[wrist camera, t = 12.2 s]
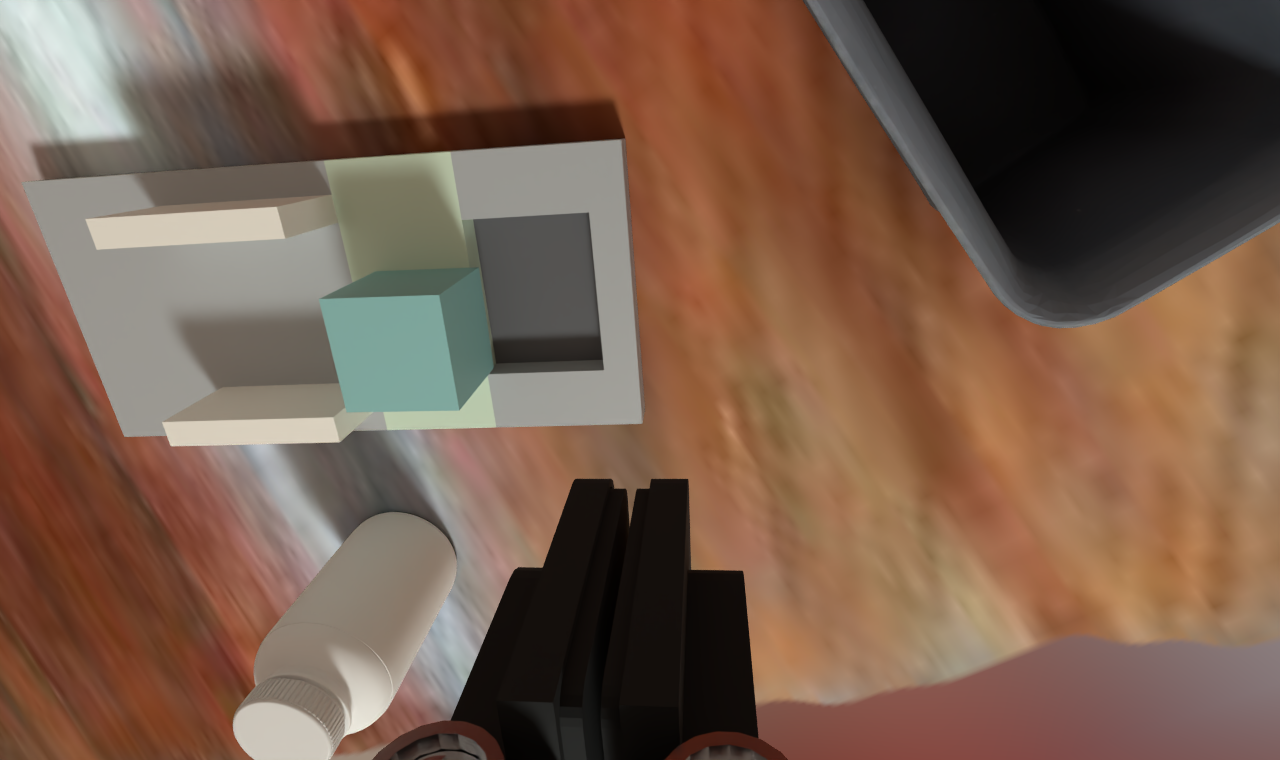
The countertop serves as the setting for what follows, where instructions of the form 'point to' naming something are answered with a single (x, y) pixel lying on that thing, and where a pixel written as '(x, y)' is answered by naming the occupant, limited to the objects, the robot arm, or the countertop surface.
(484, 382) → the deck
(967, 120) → the storage bin
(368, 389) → the teal block
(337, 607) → the pill bottle
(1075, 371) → the countertop surface
